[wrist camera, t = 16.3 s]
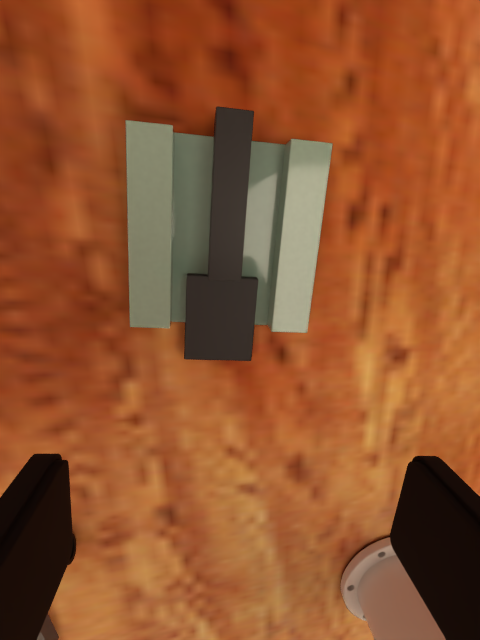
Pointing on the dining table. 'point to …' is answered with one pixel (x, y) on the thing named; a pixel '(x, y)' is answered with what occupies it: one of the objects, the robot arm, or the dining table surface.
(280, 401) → the dining table surface
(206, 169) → the spoon rest
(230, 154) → the spatula
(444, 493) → the robot arm
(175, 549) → the dining table surface
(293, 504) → the dining table surface
